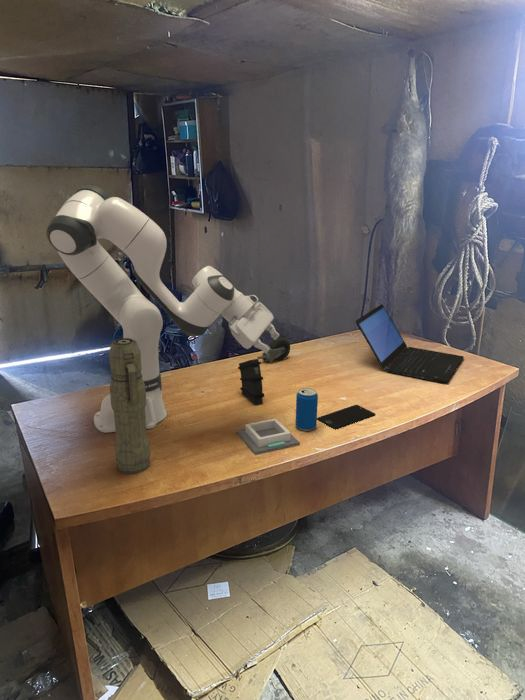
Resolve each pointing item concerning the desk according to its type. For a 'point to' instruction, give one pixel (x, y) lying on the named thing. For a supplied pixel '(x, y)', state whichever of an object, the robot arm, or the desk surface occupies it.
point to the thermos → (129, 406)
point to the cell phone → (345, 416)
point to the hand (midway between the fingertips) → (273, 344)
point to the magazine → (251, 381)
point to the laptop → (391, 345)
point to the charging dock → (267, 436)
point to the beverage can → (306, 409)
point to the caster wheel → (276, 350)
